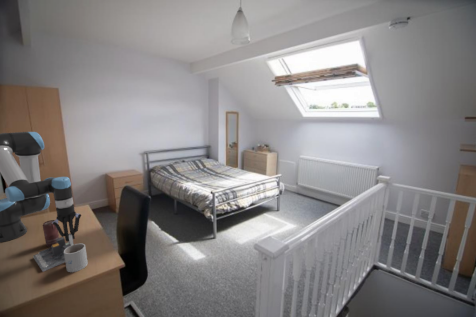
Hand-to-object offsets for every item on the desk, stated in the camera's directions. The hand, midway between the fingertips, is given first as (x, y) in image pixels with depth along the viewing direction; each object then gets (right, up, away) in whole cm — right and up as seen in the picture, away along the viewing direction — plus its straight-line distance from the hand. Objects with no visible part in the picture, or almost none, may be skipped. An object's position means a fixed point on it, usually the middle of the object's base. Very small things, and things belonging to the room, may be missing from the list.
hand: (71, 245), depth 122 cm
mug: (+11, -6, -10) cm, 16 cm away
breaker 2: (+3, -3, -5) cm, 7 cm away
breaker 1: (-6, -1, +1) cm, 6 cm away
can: (-16, -2, +7) cm, 17 cm away
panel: (-4, -4, -5) cm, 7 cm away
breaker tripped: (-4, -3, -5) cm, 7 cm away
